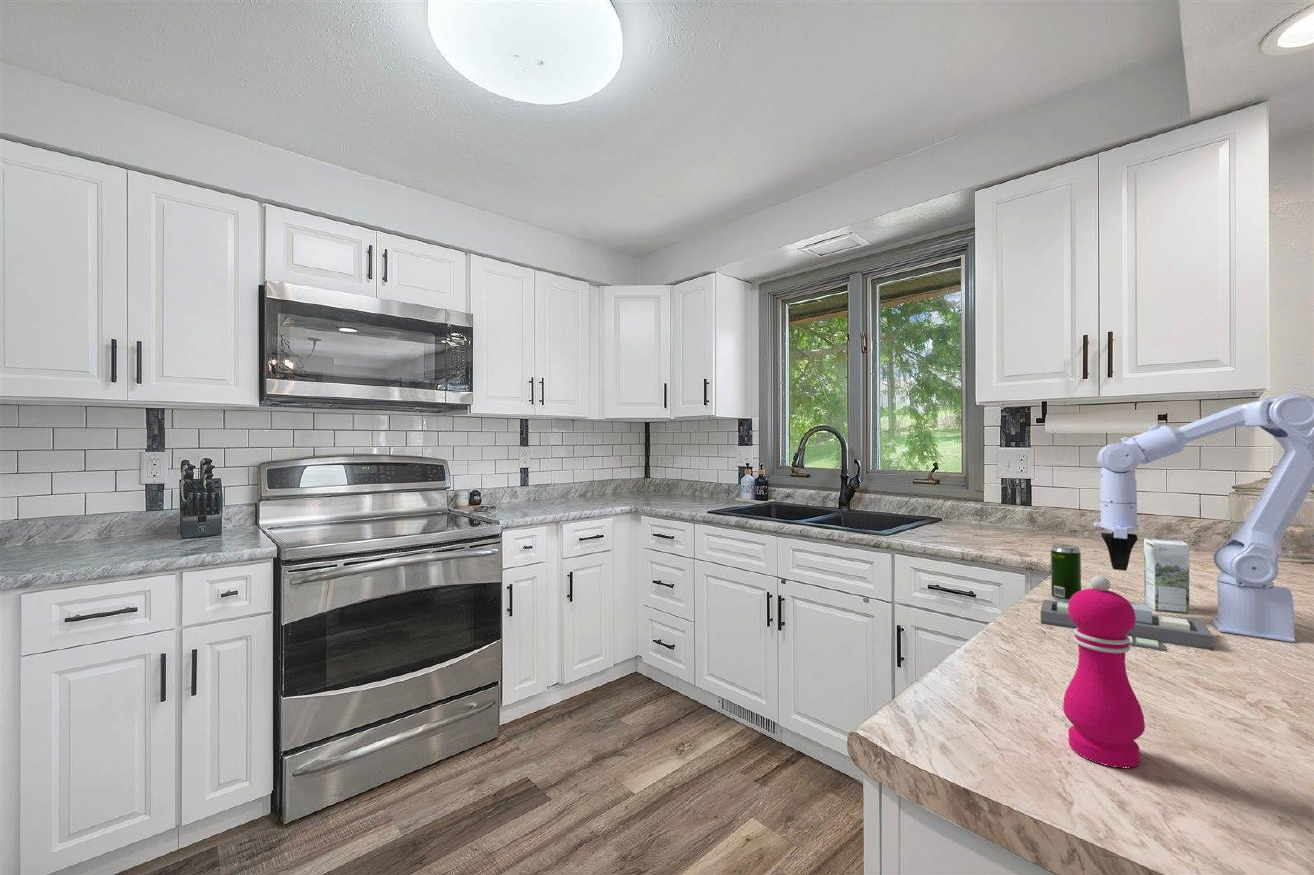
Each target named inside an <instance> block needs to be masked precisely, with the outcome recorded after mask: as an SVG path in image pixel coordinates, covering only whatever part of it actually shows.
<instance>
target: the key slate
mask: <svg viewBox="0 0 1314 875" xmlns="http://www.w3.org/2000/svg"><path fill="white" fill-rule="evenodd" d="M1130 604H1131V605H1132V607H1133V609H1134V611H1135V617H1136V620H1135V621H1137V622H1144V623H1151V624H1152V614H1153V611H1152V608H1151V607H1150V606H1148V605H1144V604H1135V603H1130Z"/></svg>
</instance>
